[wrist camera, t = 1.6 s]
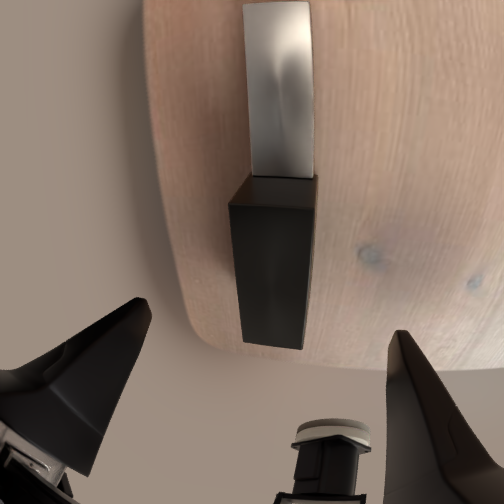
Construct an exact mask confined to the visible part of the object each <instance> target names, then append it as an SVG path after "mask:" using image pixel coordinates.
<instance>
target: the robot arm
mask: <svg viewBox="0 0 504 504" xmlns="http://www.w3.org/2000/svg"><path fill="white" fill-rule="evenodd" d="M151 319H152V313H151V310H150V308H149V305H148V303H147V300H146V299H144V298H139V297H136V298H134V299H132V300H130V301H129V302H127V303H126V304H124V305H122V306H121V307H119V308H117V309H116V310H114V311H113V312H111V313H109V314H108V315H106V316H105V317H103V318H101V319H100V320H98V321H97V322H95V323H94V324H92V325H90V326H89V327H87V328H85V329H84V330H82V331H81V332H79V333H78V334H76V335H74V336H73V337H71V338H70V339H68V340H67V341H66V342H63V343H62V344H60V345H59V346H57V347H55V348H54V349H52V350H51V351H49V352H47V353H46V354H44V355H42V356H40V357H38V358H36V359H34V360H33V361H31V362H29V363H27V364H25V365H23V366H21V367H19V368H17V369H13V370H0V504H79V503H78V502H76V501H75V500H73V499H72V498H73V494H72V491H71V487H70V484H69V481H68V478H67V474H66V473H65V470H66V468H67V467H69V468H71V469H73V470H75V471H77V472H78V473H80V474H82V475H84V476H86V477H88V476H89V474H90V472H91V469H92V466H93V464H94V461H95V458H96V455H97V453H98V450H99V448H100V445H101V443H102V440H103V436H104V435H105V432H106V430H107V427H108V425H109V422H110V420H111V418H112V415H113V413H114V410H115V408H116V406H117V403H118V401H119V399H120V396H121V394H122V392H123V389H124V387H125V384H126V382H127V380H128V378H129V376H130V373H131V371H132V369H133V367H134V365H135V362H136V360H137V358H138V356H139V353H140V351H141V348H142V345H143V342H144V339H145V337H146V334H147V331H148V328H149V325H150V322H151ZM386 407H387V450H386V474H385V489H384V499H383V504H504V468H502V467H501V466H499V465H498V464H497V463H495V461H494V460H493V459H492V458H491V457H490V455H489V454H488V452H487V451H486V449H485V448H484V446H483V445H482V444H481V442H480V441H479V439H478V438H477V437H476V435H475V434H474V432H473V431H472V429H471V428H470V426H469V425H468V423H467V422H466V420H465V419H464V417H463V415H462V414H461V412H460V410H459V409H458V407H457V406H456V404H455V402H454V400H453V399H452V397H451V396H450V394H449V392H448V391H447V389H446V388H445V386H444V384H443V383H442V381H441V380H440V378H439V376H438V375H437V373H436V372H435V370H434V369H433V367H432V366H431V364H430V363H429V361H428V360H427V358H426V357H425V355H424V354H423V352H422V351H421V349H420V348H419V346H418V345H417V343H416V342H415V341H414V339H413V338H412V336H411V335H410V333H409V332H408V331H407V330H396V331H395V333H394V335H393V337H392V339H391V342H390V344H389V347H388V363H387V382H386ZM291 448H293V449H296V450H298V451H299V453H298V459H297V464H296V469H295V474H294V480H295V483H294V487H293V492H292V494H289V493H285V492H279V493H278V494H277V495H276V499H275V501H274V503H273V504H292V503H295V504H365V503H366V494H361V495H355V487H356V479H357V470H358V460H359V454H363V453H368V452H371V447H369V446H366V445H364V444H362V443H359V442H357V441H355V440H353V439H350V438H348V437H346V436H344V435H341V434H337V435H332V436H327V437H323V438H318V439H313V440H307V441H302V442H296V443H292V444H291Z"/></svg>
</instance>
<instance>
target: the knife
mask: <svg viewBox="0 0 504 504" xmlns="http://www.w3.org/2000/svg"><path fill="white" fill-rule="evenodd" d="M242 10H243V26H244V43H245V59H246V76H247V93H248V111H249V128H250V146H251V164H252V172H251V173H250V174H249V175H248V177H247V178H246V179H245V181H244V182H243V184H242V185H241V186H240V188H239V189H238V190H237V192H236V193H235V195H234V196H233V197H232V199H231V200H230V202H229V203H228V209H229V219H230V229H231V238H232V248H233V258H234V267H235V276H236V285H237V294H238V303H239V312H240V320H241V329H242V337H243V342H245V343H252V344H259V345H266V346H273V347H281V348H289V349H297V350H302V349H303V344H304V337H305V330H306V323H307V315H308V307H309V299H310V289H311V279H312V268H313V256H314V243H315V229H316V214H317V195H318V176H317V175H313V173H314V61H313V36H312V19H311V5H310V2H309V1H276V2H260V3H249V4H243V5H242Z"/></svg>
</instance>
